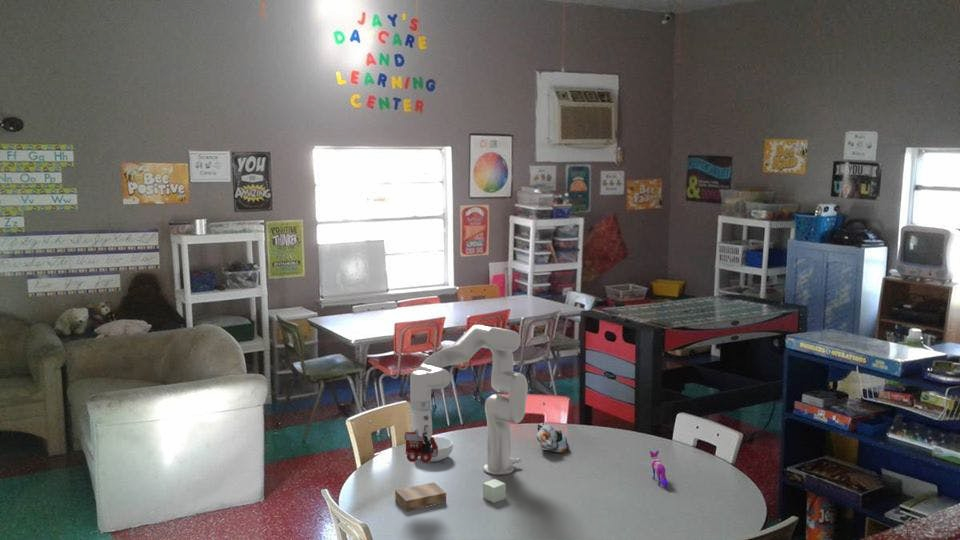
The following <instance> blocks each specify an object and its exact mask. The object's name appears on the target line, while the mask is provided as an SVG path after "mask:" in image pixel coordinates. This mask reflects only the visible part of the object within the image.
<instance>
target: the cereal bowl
mask: <svg viewBox="0 0 960 540" xmlns="http://www.w3.org/2000/svg"><path fill="white" fill-rule="evenodd" d="M432 437H433V438H434V440H435V442H436V444H437V446H438V455H437V456H436V457H432V458H431V460H430V462H429V463H436V461H437V462H440V461H442V460H444V459H446V458H448V457H449V456H450V455H451V454H452V452H453V447H454V445H453V444H454V442H453V441H452V440H451V439H448V438H446V437H439V436H432ZM431 447H432V445H431ZM418 458H419V459H421V456H418Z"/></svg>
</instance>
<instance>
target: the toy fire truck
mask: <svg viewBox="0 0 960 540" xmlns="http://www.w3.org/2000/svg"><path fill="white" fill-rule="evenodd" d="M423 435H425V434H423ZM433 437H434V436H431V443H430V453H426V454H422V443H423V442H422V438H421V437H420V436H419V435H417V434H416V433H415V432H412V431H406V432H405V433H404V440H405V456H406V459H407V460H408V461H409V462H411V463H415V462H416V461H418V458H419V457H418V456H421V458H420V460H421V462H423V463H425V464H426V463H431V462H430V460H431V458H432V457H436V456H437V455H438V446H437V444H436V442H435V440H434V438H433ZM425 438H427V437H424V439H425ZM431 445H432V447H431Z"/></svg>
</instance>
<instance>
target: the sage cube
mask: <svg viewBox="0 0 960 540" xmlns="http://www.w3.org/2000/svg"><path fill="white" fill-rule="evenodd" d="M482 484H483V485H482V498H483V499H484V500H486V501H489V502H491V503H494V504H495V503H497V502H500V501H503V500H506V497H507V495H506V487H507V486H506V485H507V484H506V483H505V482H503V481H500V480H498V479H496V478H493V479H491V480H488V481H486V482H483V483H482Z"/></svg>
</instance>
